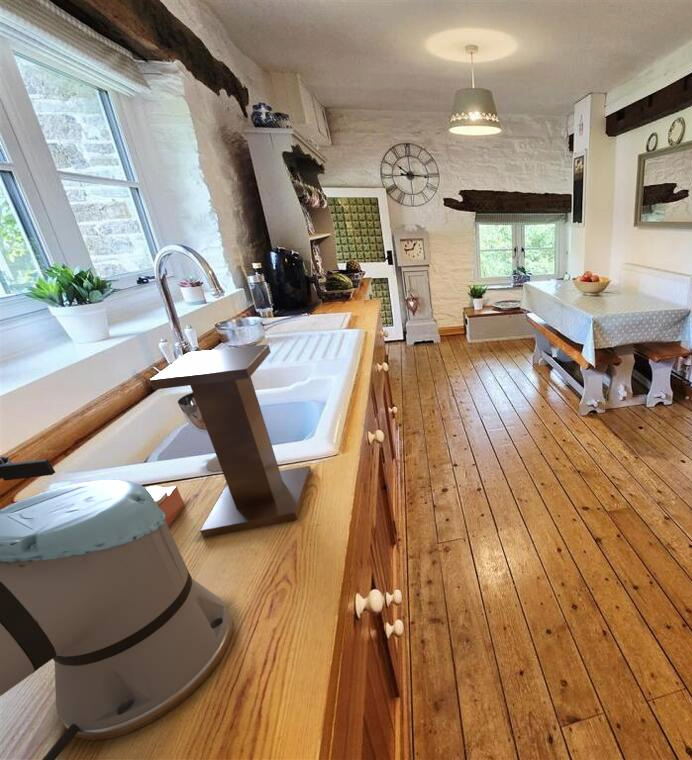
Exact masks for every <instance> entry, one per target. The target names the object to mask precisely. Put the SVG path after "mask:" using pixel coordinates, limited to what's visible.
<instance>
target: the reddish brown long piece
mask: <svg viewBox="0 0 692 760" xmlns="http://www.w3.org/2000/svg"><path fill="white" fill-rule="evenodd" d="M145 488H146V489H147V490H148V491H149V492H150V494H151V495H152V497H153V499H154V500H155V502H156V503H157V505H158V506H159V508H160V509H161V510H162V511H163V512H164V514H165V517H166V519H165V521H166V523H167V525H168V528H170V526H171V524H172V523H173V521H174V520H175V519H176V517H177V515H179V512H180V511H181V509H183V507H184V506H185V502H184V500H183V498H182V495H181V493H180V491H179V489H178V486H177V485H176V486H169V487H163V486H160V485H159V486H149V487H145Z"/></svg>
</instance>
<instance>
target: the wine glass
mask: <svg viewBox="0 0 692 760" xmlns="http://www.w3.org/2000/svg"><path fill="white" fill-rule="evenodd" d="M177 405H178V407H179V410H180V412H181V414H182V416H183V418H184V419H185V421H186V422H187V423H188V424H189V425H190V426H191V428H192V429H194V430H196V431H198V432H200V433H203V434H206V435H208V436H209V434H208V431H207V429H206V426H205V423H204V421H203V418H202V415H201V413H200V410H199V407H198V405H197V402H196V399H195V397H194V394H193V392H190V393H187V394H185V395H184V396H182V397H180V398H179V399H178V400H177ZM205 468H206V470H208V471H211V472H218V471H219V472H220V471H222V469H221V466H220V464H219V461H218V458H217V456H216V455H215V456H214V457H213V458H212V459H210V460H209V461H207V463H206V465H205Z"/></svg>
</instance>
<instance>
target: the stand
mask: <svg viewBox="0 0 692 760" xmlns="http://www.w3.org/2000/svg"><path fill="white" fill-rule="evenodd" d="M269 355H271V349H270V345H269V344H268V343H267V344H257V345H247V346H239V347H228V348H219V349H211V350H209V349H208V350H201V351H200V350H199V351H190V352H187V353H185V354H184V355H182V356H181V357H179V359H177V360H175V361H174V362H173V363H172V364H169V365H168V366H167V367H166V368H164V369H163V370H161V371H160V372H158V373H157V374H156V375H154V376H153V377H152V378H150V379H149V382H150V385H151V388H152V390H154V391H155V390H163V389H171V388H180V387H189V386H190V389H191V391H192V393H193V394H194V397H195V399H196V402H197V405H198V407H199V410H200V413H201V415H202V418H203V421H204V423H205V426H206V429H207V431H208V434H209V435H208V434H207V435H208V437H209V439H210V442H211V445H212V447H213V450H214V453H215V457H216V456H217V458H218V461H219V464H220V466H221V469H222V470H221V472H222V474H223V477H224V479H225V482H226V486H225V488H224V489H223V491H222V493H221V495H220V496H219V497H218V499H217V501H216V502H215V505H214V506H213V508H212V510H211V511H210V513H209V515H208V516H207V518H206V519H205V521H204V523H203V525H202V526H201V529H200V531H199V532H200V534H201V536H202V538H203V539H204V538H209V537H214V536H220V535H225V534H229V533H235V532H241V531H245V530H250V529H257V528H260V527H266V526H271V525H276V524H282V523H287V522H292V521H297V520H298V518H299V515H300V512H301V508H302V506H303V501H304V498H305V495H306V491H307V488H308V484H309V482H310V479H311V476H312V469H311V465H305V466H300V467H293V468H288V469H282V470H280V467H279V465H278V464H279V463H278V461H277V458H276V455H275V451H274V447H273V445H272V441H271V439H270V435H269V432H268V428H267V426H266V422H265V418H264V416H263V415H264V414H263V412H262V409H261V406H260V402H259V400H258V396H257V392H256V389H255V387H254V386H255V385H254V383H253V379H252V376H253V374H254V373H255V372H256V371H257V370H258V369H259V368H260V366H261V365H262V364H263V362H265V360H266V359H267V358H268V356H269Z"/></svg>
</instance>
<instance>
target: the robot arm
mask: <svg viewBox="0 0 692 760" xmlns="http://www.w3.org/2000/svg"><path fill="white" fill-rule="evenodd" d="M55 473H56V471H55V468H54V467H53V465H52V463H51V462H50V460H49V458H44V459H36V460H28V461H26V460H25V461H17V462H13V461H11V459H10V457H9V456H8V455H4V456H0V480H3V481H5V482H6V481H13V480H22V479H30V478H39V477H46V476H53V475H55ZM146 488H147V487H145V486H143V485H142V484H140V483H137V482H135V481H131V480H125V479H100V480H91V481H83V482H79V483H73V484H69V485H64V486H61V487H56V488H52V489H50V490H47V491H44V492H40V493H37V494H35V495H32V496H29V497H27V498H24V499H23V498H22V499H20V500H19V501H16V502H14V503H11V504H9V505H7V506H5V507H3V508H1V509H0V697H1V696H3V695H4V694H6V693H7V692H8V691H10V690H11V689H13V688H14V687H16V686H17V685H18V684H20V683H21V682H22V681H24V680H25V679H27V678H28V677H30V676H31V675H32V674H34V673H35V672H36V671H38V670H39V669H41V668H42V667H43V666H44V665H46V664H48V663H49V662H50V661H52V660H53V661H54V686H55V689H54V690H55V708H56V712H57V716H58V719H59V720H60V722H61V723H62V725H64V727H65V728H66V730H65V732H63V734H62V735H61V736H60V737H59V738H58V740H57V741H56V742H55V743H54V745H53V746H52V747H51V748H50V749H49V750H48V752H47V753H46V754H45V755H44V756H43V758H42V759H41V760H56V759H57V758H58V757H59V756H60V755H61V754H62V752H63V751H64V750H65V748H66V747H67V746H68V745H69V744H70V743H71V741H72V740H73V738H74V737H76V738H78V739H82V740H86V741H87V740H88V741H99V740H101V741H102V740H107V739H113V738H117V737H119V736H123V735H126V734H128V733H131V732H134V731H136V730H139V729H141V728H142V727H145V726H147V725H149V724H150V723H152V722H154V721H156V720H158V719H159V718H161V717H162V716H164V715H166V714H167V713H168V712H170V711H171V710H173V709H174V708H176V707H177V706H178V705H180V704H181V703H182V702H183V701H185V700H186V699H187V698H188V697H189V696H191V695H192V694H193V693H194V692H195V691H196V690H197V689H198V688H199V687H200V686H201V685H202V684H203V683H204V682H205V681H206V680H207V679H208V677H209V676H210V675H211V674H212V673H213V671H214V670H215V669H216V667H217V666H218V665H219V663H220V662H221V660H222V658H223V657H224V655H225V654H226V651H227V649H228V648H229V645H230V642H231V640H232V635H233V630H234V629H233V627H234V625H233V624H234V623H233V618H232V616H231V613H230V611H229V609H228V607H227V604H226V603H225V602H224V601H223V600H222V599H221V598H220V597H219V596H217V595H216V594H215V593H213V592H212V591H211V590H209V589H208V588H206V587H205V586H203V585H202V584H201V583H200V582H198V581H197V580H196V579H193V577H192V575H191V573H190V571H189V569H188V566H187V565H186V562H185V561H184V558H183V555H182V554H181V552H180V549H179V547H178V546H177V543H176V541H175V539H174V537H173V534H172V533H171V532H172V531H171V530H170V527H168V525H167V523H166V521H165V519H166V517H165V514H164V512H163V511H162V510H161V509H160V508H159V506H158V505H157V503H156V502H155V500H154V499H153V497H152V495H151V494H150V492H149V491H148V490H147V489H146Z"/></svg>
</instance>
